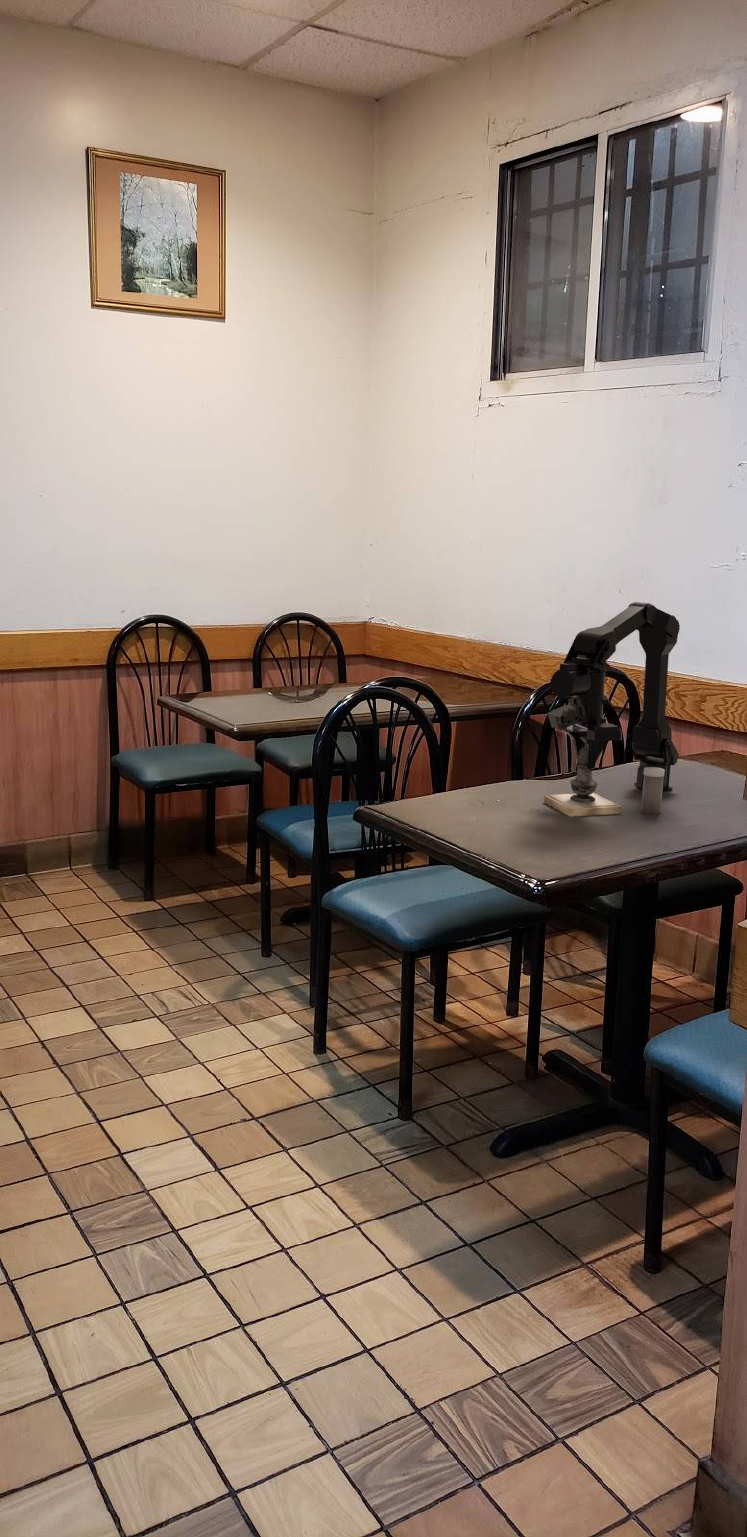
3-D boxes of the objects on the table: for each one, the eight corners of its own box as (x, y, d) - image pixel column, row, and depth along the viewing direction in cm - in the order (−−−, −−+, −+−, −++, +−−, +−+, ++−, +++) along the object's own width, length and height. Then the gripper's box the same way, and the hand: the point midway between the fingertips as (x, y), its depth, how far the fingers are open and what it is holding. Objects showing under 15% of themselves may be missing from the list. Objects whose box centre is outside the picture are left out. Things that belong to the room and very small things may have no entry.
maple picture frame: (593, 799, 258) (594, 791, 258) (621, 813, 247) (622, 805, 247) (543, 802, 255) (544, 794, 254) (569, 816, 244) (570, 808, 243)
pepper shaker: (654, 808, 252) (657, 766, 250) (664, 813, 248) (668, 771, 246) (636, 809, 251) (640, 767, 249) (647, 814, 247) (650, 771, 245)
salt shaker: (599, 802, 248) (602, 746, 245) (570, 802, 248) (574, 745, 245) (594, 796, 254) (598, 741, 251) (567, 795, 254) (570, 740, 251)
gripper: (534, 686, 252) (531, 758, 255) (576, 701, 235) (571, 778, 238) (581, 685, 255) (577, 756, 259) (625, 699, 238) (620, 775, 241)
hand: (585, 766), depth 249 cm, fingers closed on salt shaker, 3 cm apart
